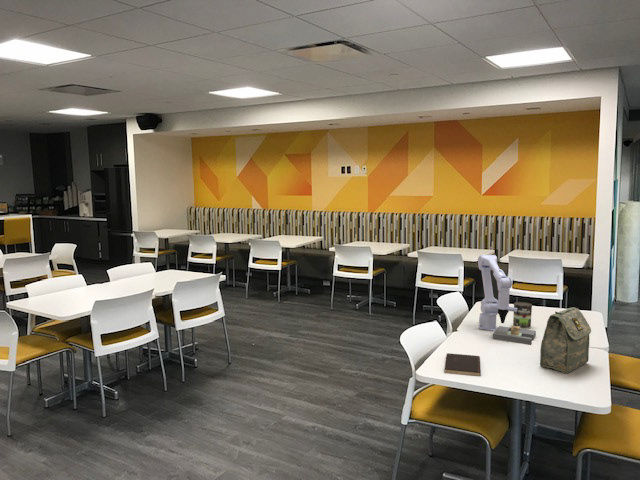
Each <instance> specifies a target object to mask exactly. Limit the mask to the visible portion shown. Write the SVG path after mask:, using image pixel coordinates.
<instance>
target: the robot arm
mask: <svg viewBox="0 0 640 480" xmlns="http://www.w3.org/2000/svg"><path fill="white" fill-rule="evenodd" d="M496 255H497V254H480V255H478V259H477V264H478V269H479V270H480V271H481V277H482V284H483V293H484V298H483V299H482V300H480V313H479V318H478V329H479V330H486V331H493V332H495V331H496V329H497V328H498V327H499V326H497V316H499V319H500V324H505V322H506V318H507V315H508V313H509V312H513V313H514V312H517V308H514V306H510V288H512V286H513V282H512V279H511V277H509V276H507V275H506V274H505V272H504V271H503V269H500V267H499V265H498V257H497V256H496ZM491 271H492V272H493V273H492V274H493V277H494V279H495V280H496V285H497V291H498V296H497V297H498V298H495V297H494V292H493V291H494V290H493V284H492V281H493V280H492V276H491Z"/></svg>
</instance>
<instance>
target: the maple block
mask: <svg viewBox="0 0 640 480" xmlns="http://www.w3.org/2000/svg"><path fill="white" fill-rule="evenodd" d="M511 334H512V335H519V334H520V326H513V325H511Z"/></svg>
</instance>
